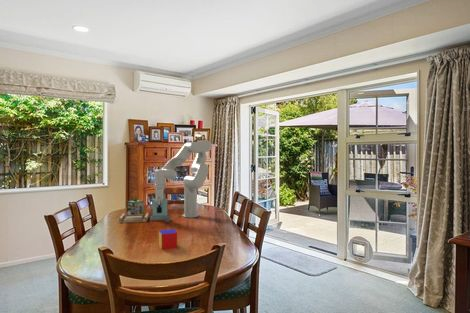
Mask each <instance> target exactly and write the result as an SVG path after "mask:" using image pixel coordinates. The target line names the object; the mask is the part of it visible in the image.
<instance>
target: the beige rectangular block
mask: <svg viewBox="0 0 470 313" xmlns="http://www.w3.org/2000/svg"><path fill="white" fill-rule="evenodd" d="M142 221H143V218H142V216H127V217H126V219H124V222H127V223H143V222H142Z"/></svg>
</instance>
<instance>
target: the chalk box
mask: <svg viewBox="0 0 470 313" xmlns="http://www.w3.org/2000/svg"><path fill="white" fill-rule="evenodd" d="M131 198H132V200H128V201H126V215H139V214H145V213H144V210H145V209H144V207H145V206H144V200H141V199H140V200H139V199H137V196H132V197H131Z"/></svg>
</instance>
